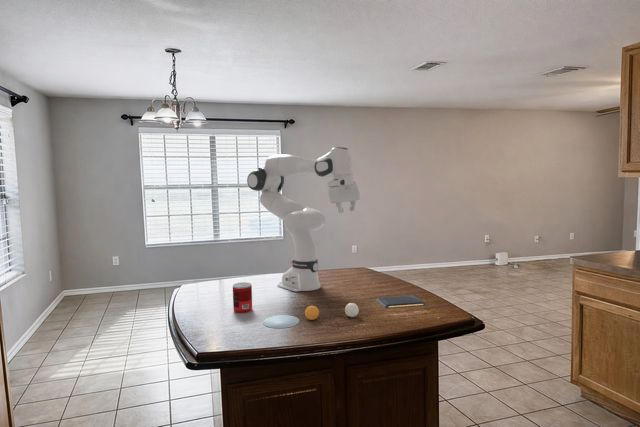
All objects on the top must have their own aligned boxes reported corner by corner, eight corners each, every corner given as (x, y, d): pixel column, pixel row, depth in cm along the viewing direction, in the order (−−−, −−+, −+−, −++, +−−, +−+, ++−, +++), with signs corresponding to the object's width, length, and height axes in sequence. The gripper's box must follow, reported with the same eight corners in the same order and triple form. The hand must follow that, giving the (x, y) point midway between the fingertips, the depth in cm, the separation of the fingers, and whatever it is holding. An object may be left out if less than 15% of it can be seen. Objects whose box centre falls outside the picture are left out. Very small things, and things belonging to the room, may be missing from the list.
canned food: (255, 308, 181) (254, 282, 180) (246, 314, 173) (245, 287, 172) (239, 306, 183) (238, 281, 182) (230, 312, 176) (229, 286, 175)
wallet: (416, 293, 195) (429, 303, 180) (416, 297, 195) (429, 307, 180) (374, 296, 192) (384, 306, 177) (374, 300, 192) (384, 310, 177)
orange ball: (302, 320, 164) (302, 306, 164) (310, 316, 169) (310, 302, 168) (313, 322, 161) (313, 308, 161) (321, 318, 166) (321, 305, 165)
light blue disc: (255, 323, 162) (255, 323, 161) (279, 313, 173) (279, 313, 173) (283, 331, 153) (283, 330, 153) (306, 319, 165) (306, 319, 165)
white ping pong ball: (342, 317, 167) (342, 303, 167) (349, 313, 172) (349, 300, 171) (354, 320, 164) (354, 306, 163) (361, 316, 168) (361, 302, 168)
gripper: (350, 181, 204) (353, 210, 205) (325, 183, 188) (328, 214, 188) (361, 180, 200) (364, 209, 201) (336, 181, 184) (340, 213, 184)
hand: (346, 211), depth 194 cm, fingers open, 8 cm apart
